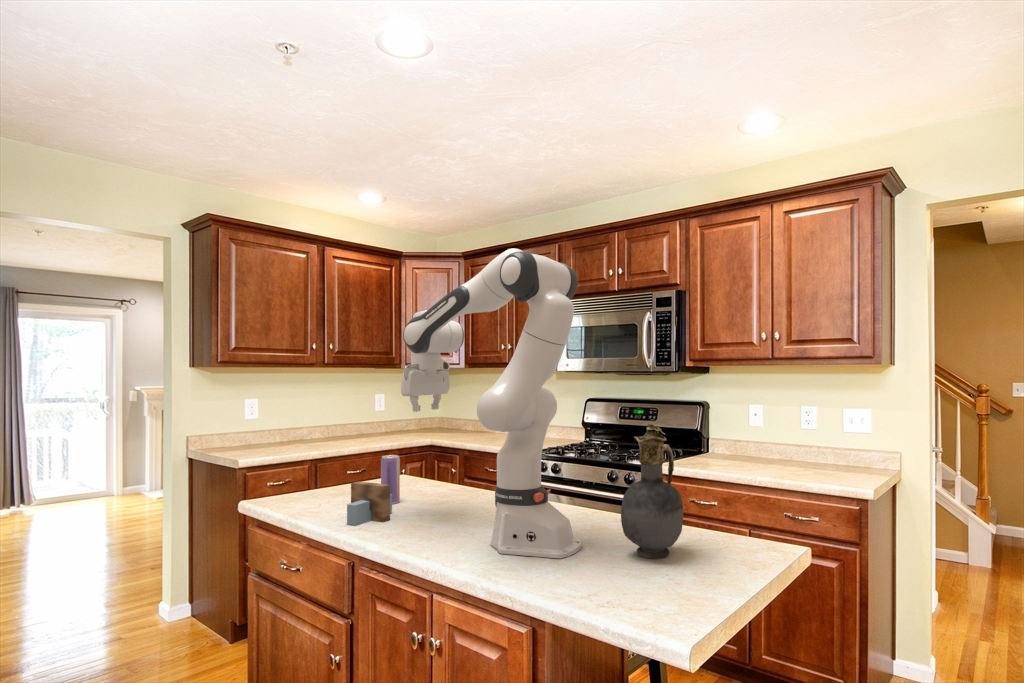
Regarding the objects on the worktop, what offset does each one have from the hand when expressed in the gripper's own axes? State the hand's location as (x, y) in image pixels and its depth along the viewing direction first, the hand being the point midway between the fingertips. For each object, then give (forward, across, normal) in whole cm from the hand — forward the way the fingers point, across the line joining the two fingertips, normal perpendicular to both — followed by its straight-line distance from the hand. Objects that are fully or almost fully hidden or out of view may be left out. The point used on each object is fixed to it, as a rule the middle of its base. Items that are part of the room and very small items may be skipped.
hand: (426, 410), depth 179 cm
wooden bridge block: (+31, -11, +12) cm, 35 cm away
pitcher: (+31, -6, -70) cm, 77 cm away
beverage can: (+31, +8, +20) cm, 38 cm away
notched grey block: (+31, -11, +12) cm, 35 cm away
